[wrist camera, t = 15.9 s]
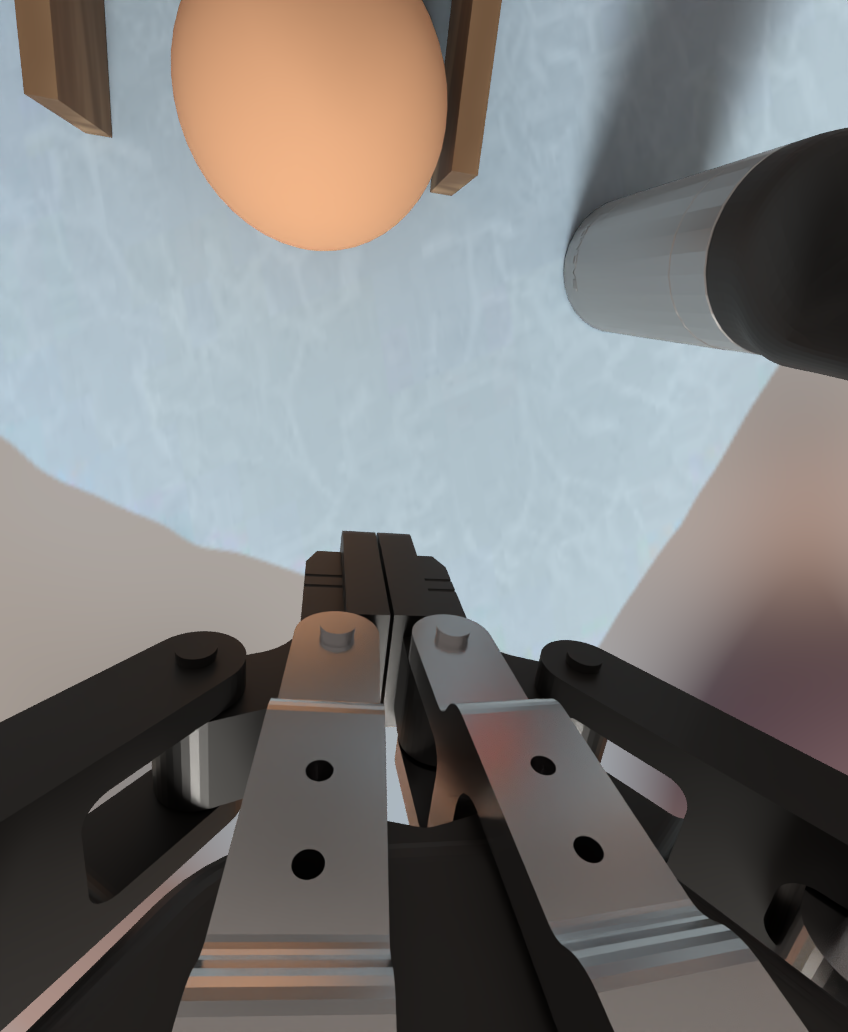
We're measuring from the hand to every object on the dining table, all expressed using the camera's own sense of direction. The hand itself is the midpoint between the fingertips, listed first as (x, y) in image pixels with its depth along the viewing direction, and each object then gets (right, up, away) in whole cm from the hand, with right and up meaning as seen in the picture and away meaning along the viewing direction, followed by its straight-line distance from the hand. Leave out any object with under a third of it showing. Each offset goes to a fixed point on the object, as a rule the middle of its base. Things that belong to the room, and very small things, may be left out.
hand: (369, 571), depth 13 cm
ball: (-5, +23, +17) cm, 29 cm away
